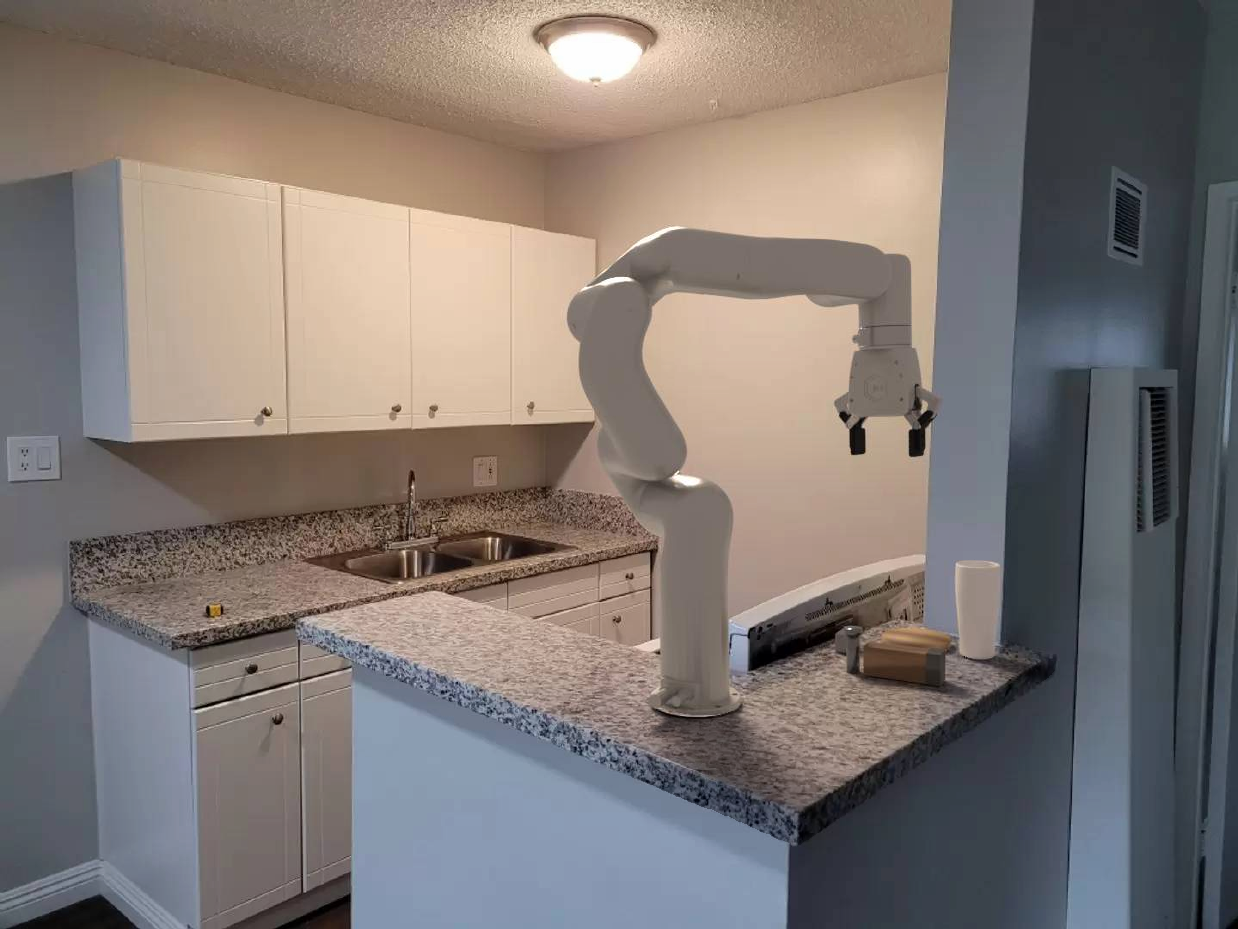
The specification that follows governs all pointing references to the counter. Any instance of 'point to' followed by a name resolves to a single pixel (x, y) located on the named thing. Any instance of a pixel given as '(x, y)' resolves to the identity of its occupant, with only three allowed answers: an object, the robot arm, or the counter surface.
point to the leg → (904, 663)
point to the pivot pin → (853, 648)
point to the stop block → (840, 641)
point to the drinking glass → (977, 607)
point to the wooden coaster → (917, 638)
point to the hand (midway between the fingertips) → (886, 455)
